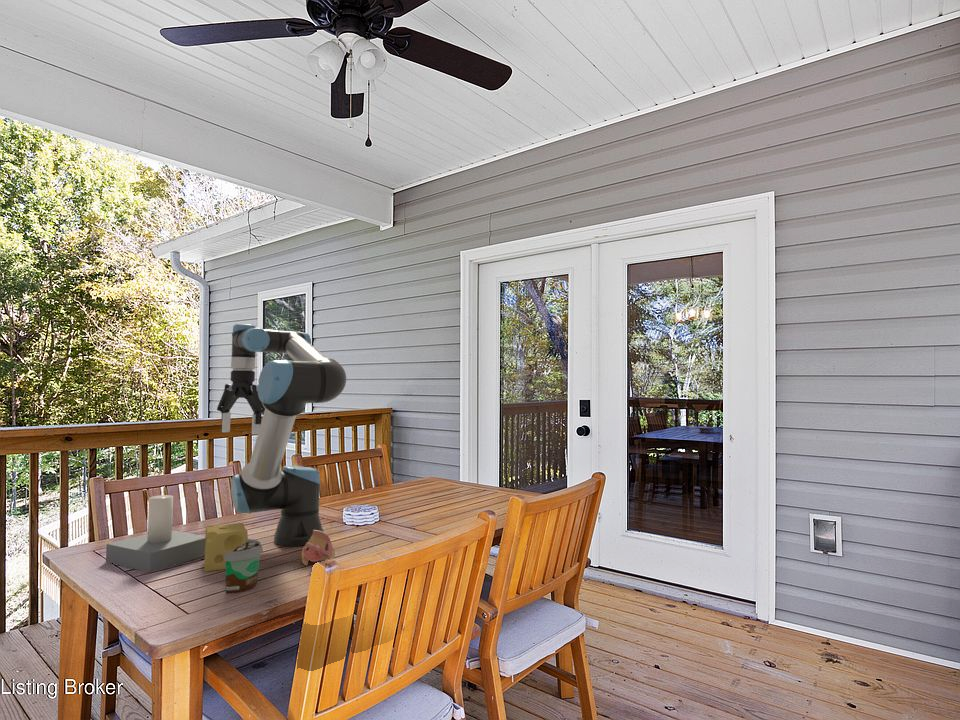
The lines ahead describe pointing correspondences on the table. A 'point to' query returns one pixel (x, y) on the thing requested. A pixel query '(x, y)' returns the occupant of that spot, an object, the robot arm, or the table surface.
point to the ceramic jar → (160, 519)
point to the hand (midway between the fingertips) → (240, 433)
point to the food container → (242, 567)
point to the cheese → (222, 544)
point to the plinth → (155, 551)
